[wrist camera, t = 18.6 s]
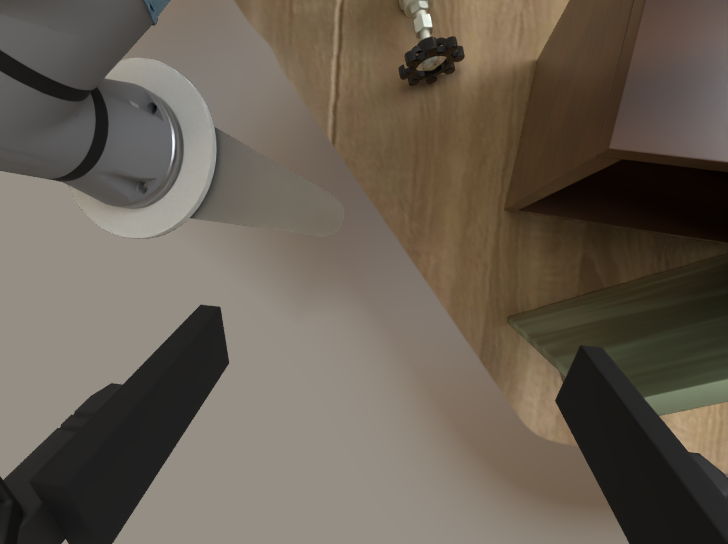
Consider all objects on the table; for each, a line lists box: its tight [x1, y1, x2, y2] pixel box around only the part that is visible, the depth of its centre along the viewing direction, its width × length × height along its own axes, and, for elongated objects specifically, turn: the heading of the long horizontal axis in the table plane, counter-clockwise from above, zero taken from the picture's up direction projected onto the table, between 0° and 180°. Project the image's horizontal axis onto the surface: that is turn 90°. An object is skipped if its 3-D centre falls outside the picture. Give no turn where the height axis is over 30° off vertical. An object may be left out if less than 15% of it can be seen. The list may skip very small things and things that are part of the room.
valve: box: [399, 0, 465, 86], centre depth 34 cm, size 7×7×12 cm
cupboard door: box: [508, 254, 728, 416], centre depth 24 cm, size 7×22×22 cm, turn 109°
